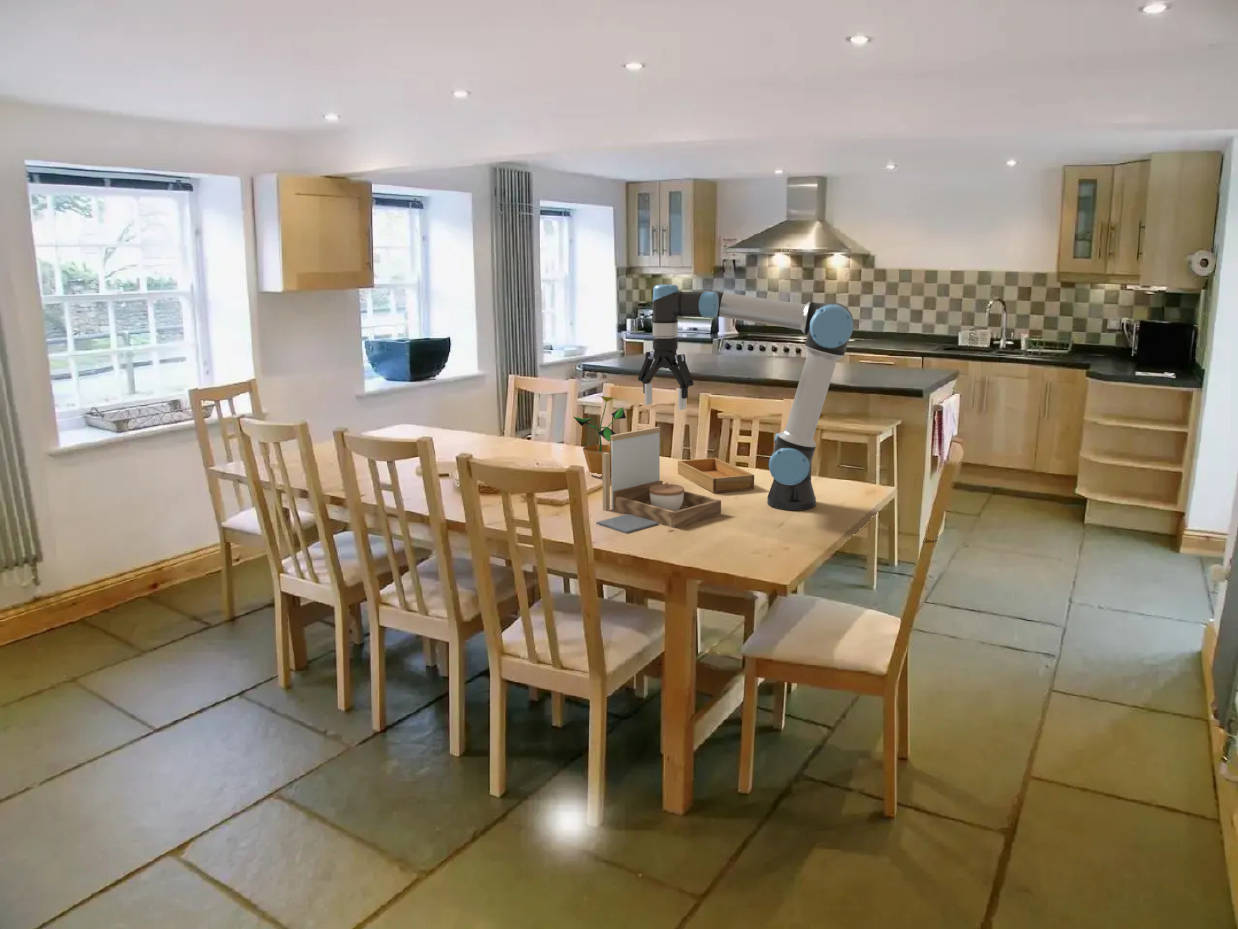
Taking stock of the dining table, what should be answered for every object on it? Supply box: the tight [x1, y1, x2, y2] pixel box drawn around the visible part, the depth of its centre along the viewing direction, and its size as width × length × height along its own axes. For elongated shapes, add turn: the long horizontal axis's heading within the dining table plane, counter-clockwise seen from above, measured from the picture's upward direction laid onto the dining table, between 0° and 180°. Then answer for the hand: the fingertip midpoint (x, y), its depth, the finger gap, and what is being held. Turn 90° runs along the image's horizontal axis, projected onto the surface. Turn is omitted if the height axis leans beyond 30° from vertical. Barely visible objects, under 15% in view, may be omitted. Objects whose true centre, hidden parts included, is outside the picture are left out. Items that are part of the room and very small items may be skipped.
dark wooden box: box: [612, 480, 722, 529], centre depth 285 cm, size 26×20×6 cm
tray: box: [677, 457, 755, 494], centre depth 323 cm, size 31×15×6 cm, turn 19°
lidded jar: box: [649, 482, 685, 511], centre depth 285 cm, size 11×11×9 cm
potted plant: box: [573, 395, 627, 474], centre depth 331 cm, size 18×19×30 cm
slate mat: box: [596, 513, 659, 534], centre depth 274 cm, size 13×13×1 cm
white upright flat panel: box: [601, 426, 661, 511], centre depth 293 cm, size 3×22×24 cm, turn 133°
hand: (665, 406), depth 284 cm, fingers open, 13 cm apart
